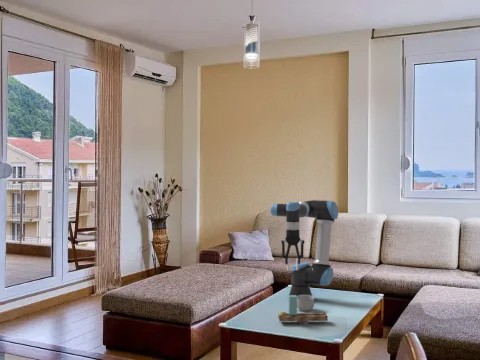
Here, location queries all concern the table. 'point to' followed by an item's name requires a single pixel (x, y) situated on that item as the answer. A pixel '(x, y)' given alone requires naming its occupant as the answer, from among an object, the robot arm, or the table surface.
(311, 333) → the table surface
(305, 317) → the beam
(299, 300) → the teacup
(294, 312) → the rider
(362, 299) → the table surface
